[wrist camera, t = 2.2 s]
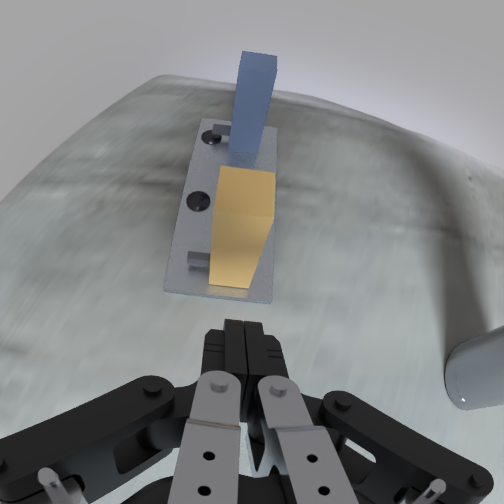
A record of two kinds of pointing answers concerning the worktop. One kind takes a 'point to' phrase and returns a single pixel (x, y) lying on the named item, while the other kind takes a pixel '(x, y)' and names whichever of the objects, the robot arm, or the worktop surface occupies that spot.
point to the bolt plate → (201, 217)
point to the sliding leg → (238, 226)
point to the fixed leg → (250, 102)
